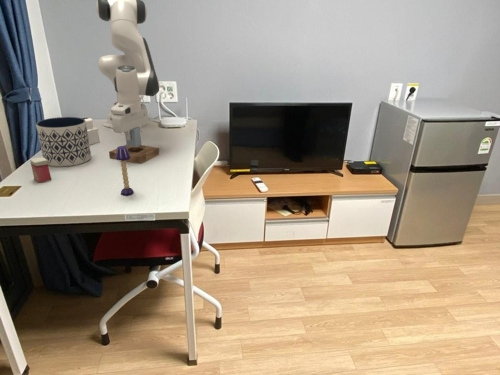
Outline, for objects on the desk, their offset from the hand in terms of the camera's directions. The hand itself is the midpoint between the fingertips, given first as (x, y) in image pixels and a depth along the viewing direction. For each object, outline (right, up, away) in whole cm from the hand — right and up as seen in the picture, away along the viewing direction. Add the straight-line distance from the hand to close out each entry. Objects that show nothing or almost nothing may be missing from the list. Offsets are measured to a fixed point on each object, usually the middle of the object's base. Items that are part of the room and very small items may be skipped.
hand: (133, 138), depth 151 cm
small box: (-26, -19, -24) cm, 40 cm away
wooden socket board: (0, -7, +3) cm, 8 cm away
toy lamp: (+8, -24, -31) cm, 40 cm away
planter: (-26, -10, -4) cm, 29 cm away
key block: (0, -3, +1) cm, 3 cm away
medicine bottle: (-28, 0, +19) cm, 34 cm away
